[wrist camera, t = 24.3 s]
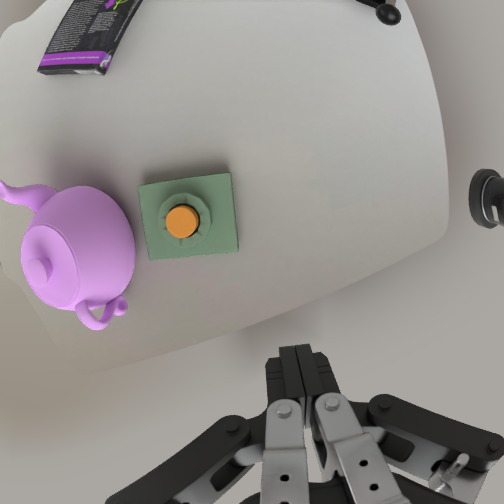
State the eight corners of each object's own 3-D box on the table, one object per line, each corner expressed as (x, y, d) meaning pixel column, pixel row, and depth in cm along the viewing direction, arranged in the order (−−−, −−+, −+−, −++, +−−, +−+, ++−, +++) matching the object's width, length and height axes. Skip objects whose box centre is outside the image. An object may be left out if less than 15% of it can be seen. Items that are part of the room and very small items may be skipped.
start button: (196, 203, 31) (193, 205, 30) (200, 233, 32) (198, 236, 31) (167, 207, 31) (163, 209, 30) (172, 236, 32) (168, 239, 31)
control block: (230, 172, 34) (228, 172, 30) (238, 247, 37) (237, 256, 33) (143, 185, 34) (132, 186, 30) (154, 255, 37) (145, 265, 33)
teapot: (175, 275, 37) (143, 324, 24) (100, 324, 40) (61, 372, 27) (86, 136, 31) (26, 127, 18) (26, 207, 34) (-30, 223, 20)
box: (106, 76, 29) (156, -17, 24) (95, 70, 26) (150, -27, 20) (47, 76, 27) (93, -11, 22) (35, 72, 24) (85, -19, 19)
